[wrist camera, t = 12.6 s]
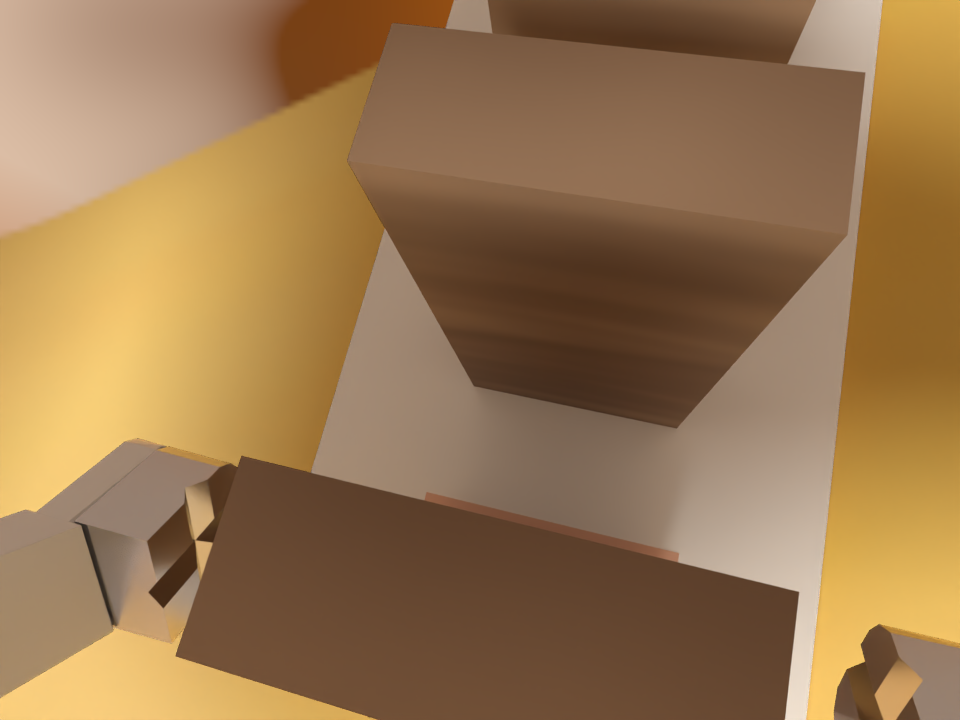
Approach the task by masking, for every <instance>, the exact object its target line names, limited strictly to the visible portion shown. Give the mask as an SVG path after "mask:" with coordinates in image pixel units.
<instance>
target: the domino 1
mask: <svg viewBox="0 0 960 720" xmlns="http://www.w3.org/2000/svg"><path fill="white" fill-rule="evenodd" d="M815 2H816V0H488V6H489V13H490V20H491V27H492V33H494V34H503V35H513V36H522V37H532V38H542V39H551V40H561V41H570V42H580V43H589V44H599V45H608V46H618V47H627V48H637V49H647V50H656V51H666V52H675V53H685V54H694V55H704V56H713V57H723V58H732V59H742V60H752V61H761V62H771V63H780V64H788V62H789V60H790V58H791V55H792V53H793V51H794V49H795V47H796V44H797V42H798V40H799V38H800V35H801V33H802V31H803V29H804V27H805V24H806V22H807V20H808V18H809V15H810V13H811V11H812V9H813V7H814V4H815Z"/></svg>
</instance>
